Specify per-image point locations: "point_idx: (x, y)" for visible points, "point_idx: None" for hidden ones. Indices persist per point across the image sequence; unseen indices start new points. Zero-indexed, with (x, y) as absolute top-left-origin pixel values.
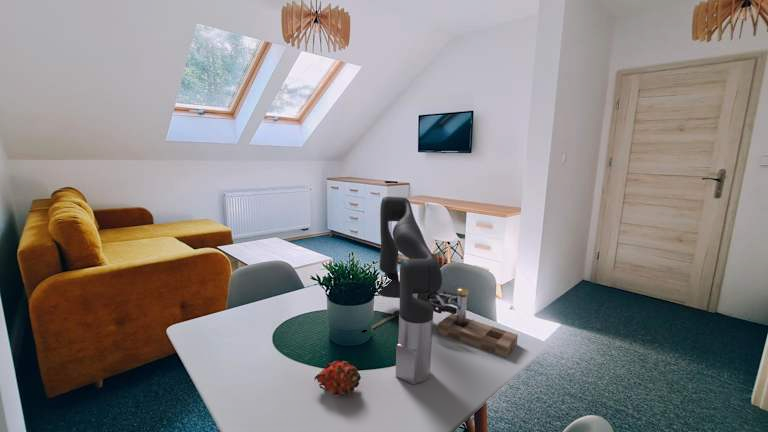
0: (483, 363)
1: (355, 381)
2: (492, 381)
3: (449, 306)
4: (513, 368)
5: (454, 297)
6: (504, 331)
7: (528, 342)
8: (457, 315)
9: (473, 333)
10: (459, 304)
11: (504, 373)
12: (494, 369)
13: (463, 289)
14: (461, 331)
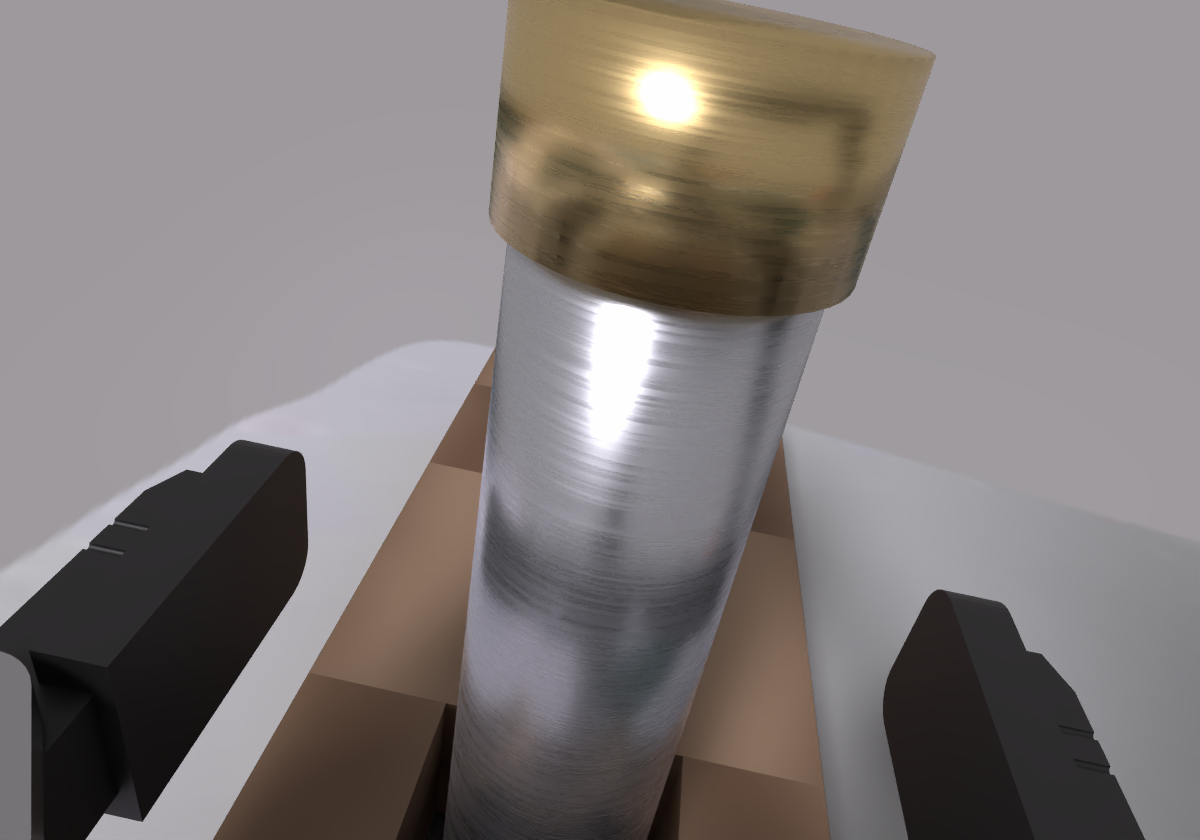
0: (980, 597)
1: None
2: (1116, 539)
3: (1071, 762)
4: (849, 449)
5: (33, 784)
6: (490, 395)
7: (411, 367)
8: (659, 783)
9: (755, 618)
10: (753, 520)
11: (956, 487)
12: (975, 533)
13: (719, 11)
14: (820, 771)
